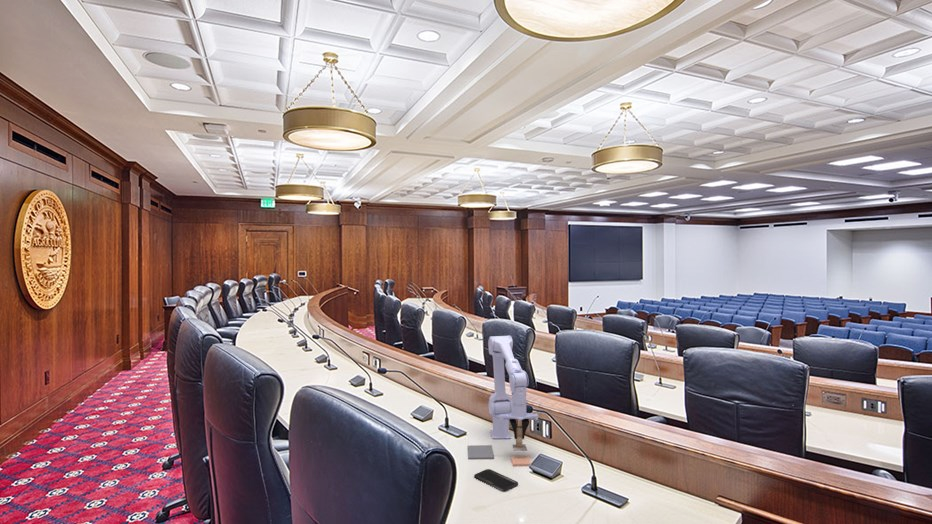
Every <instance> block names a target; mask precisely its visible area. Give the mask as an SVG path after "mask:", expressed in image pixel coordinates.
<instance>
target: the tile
mask: <svg viewBox="0 0 932 524" xmlns="http://www.w3.org/2000/svg"><path fill="white" fill-rule="evenodd" d="M510 461H511V464H513V465H512V467H530V466H529V465H530V464H531V463H532V461H531V458H530V456H529V455H511V456H510Z"/></svg>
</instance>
